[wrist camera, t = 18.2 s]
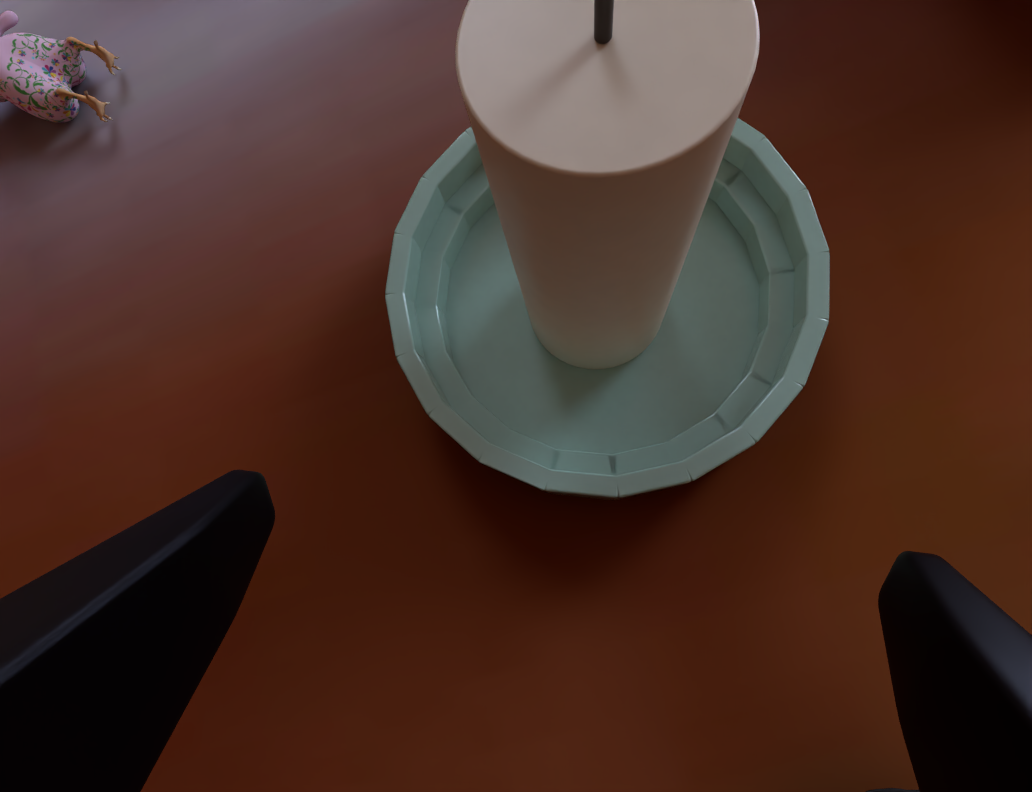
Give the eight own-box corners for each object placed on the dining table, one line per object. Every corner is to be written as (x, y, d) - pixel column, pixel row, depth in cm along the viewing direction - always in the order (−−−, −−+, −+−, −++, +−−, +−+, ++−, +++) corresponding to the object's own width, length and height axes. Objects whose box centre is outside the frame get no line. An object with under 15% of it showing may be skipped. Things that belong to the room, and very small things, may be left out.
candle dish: (450, 537, 22) (427, 540, 19) (385, 187, 25) (356, 140, 22) (851, 448, 21) (896, 437, 18) (732, 95, 24) (753, 33, 21)
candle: (544, 383, 22) (475, 176, 9) (516, 259, 23) (414, -97, 10) (680, 351, 22) (827, 83, 8) (644, 227, 23) (723, -191, 9)
